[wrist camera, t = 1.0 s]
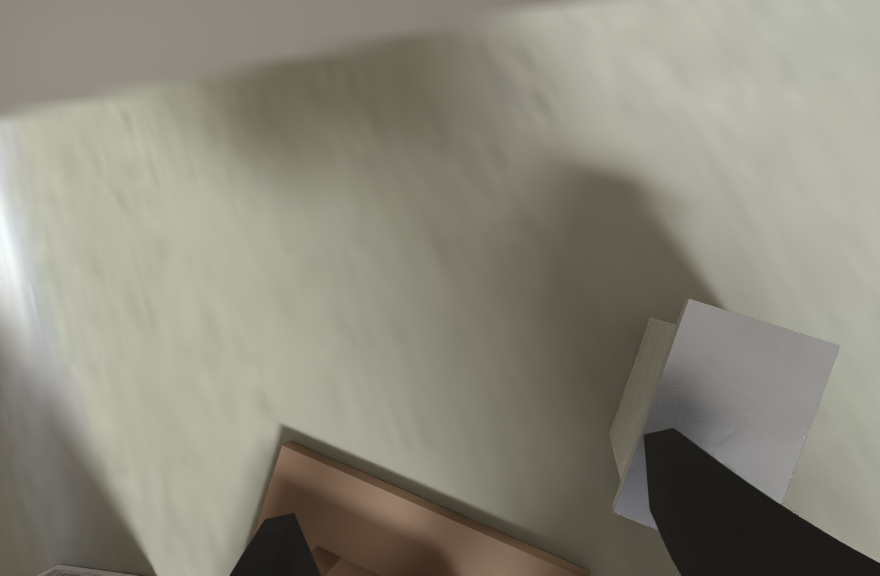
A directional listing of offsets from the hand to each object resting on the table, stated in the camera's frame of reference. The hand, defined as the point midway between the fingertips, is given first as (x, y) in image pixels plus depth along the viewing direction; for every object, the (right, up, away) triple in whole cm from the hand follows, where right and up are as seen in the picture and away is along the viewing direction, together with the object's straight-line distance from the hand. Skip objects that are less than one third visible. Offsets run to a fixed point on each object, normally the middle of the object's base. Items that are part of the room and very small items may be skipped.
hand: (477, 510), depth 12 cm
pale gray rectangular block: (+9, 0, +11) cm, 14 cm away
